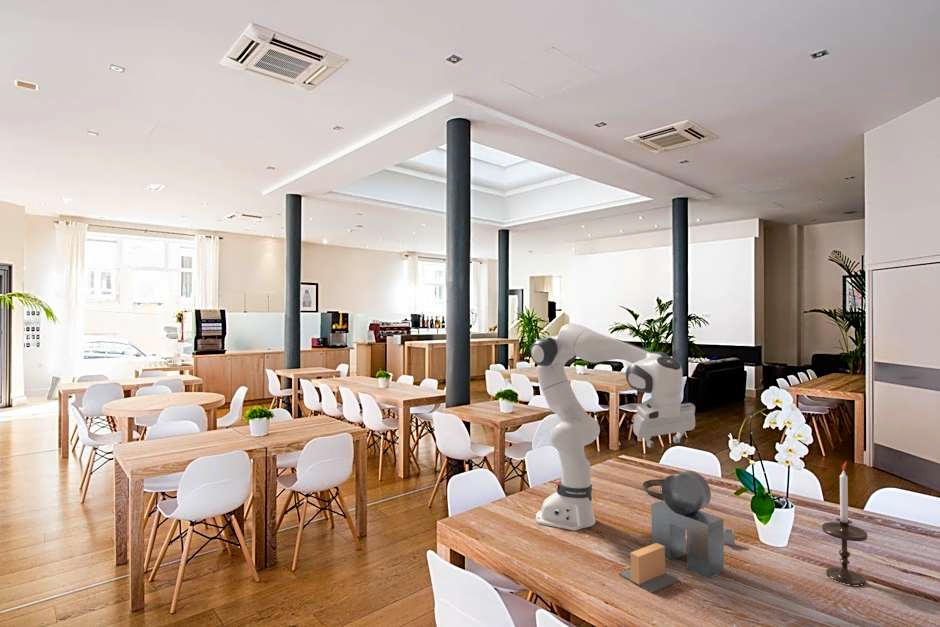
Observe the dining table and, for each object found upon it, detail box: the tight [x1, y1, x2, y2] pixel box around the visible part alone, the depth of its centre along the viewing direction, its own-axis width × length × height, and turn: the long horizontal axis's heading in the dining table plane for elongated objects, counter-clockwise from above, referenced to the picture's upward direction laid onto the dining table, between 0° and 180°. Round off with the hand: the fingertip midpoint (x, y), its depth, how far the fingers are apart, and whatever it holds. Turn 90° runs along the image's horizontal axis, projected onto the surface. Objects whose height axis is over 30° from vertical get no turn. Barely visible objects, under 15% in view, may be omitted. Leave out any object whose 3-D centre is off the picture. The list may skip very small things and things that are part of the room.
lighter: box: [723, 527, 736, 547], centre depth 175 cm, size 7×2×8 cm, turn 72°
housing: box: [651, 470, 725, 579], centre depth 162 cm, size 8×20×28 cm, turn 33°
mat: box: [618, 568, 680, 593], centre depth 152 cm, size 12×12×1 cm
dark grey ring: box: [642, 478, 665, 499], centre depth 225 cm, size 21×21×3 cm
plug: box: [629, 543, 666, 585], centre depth 152 cm, size 12×3×8 cm, turn 123°
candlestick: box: [821, 461, 868, 585], centre depth 151 cm, size 11×11×35 cm
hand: (663, 444), depth 167 cm, fingers open, 8 cm apart
